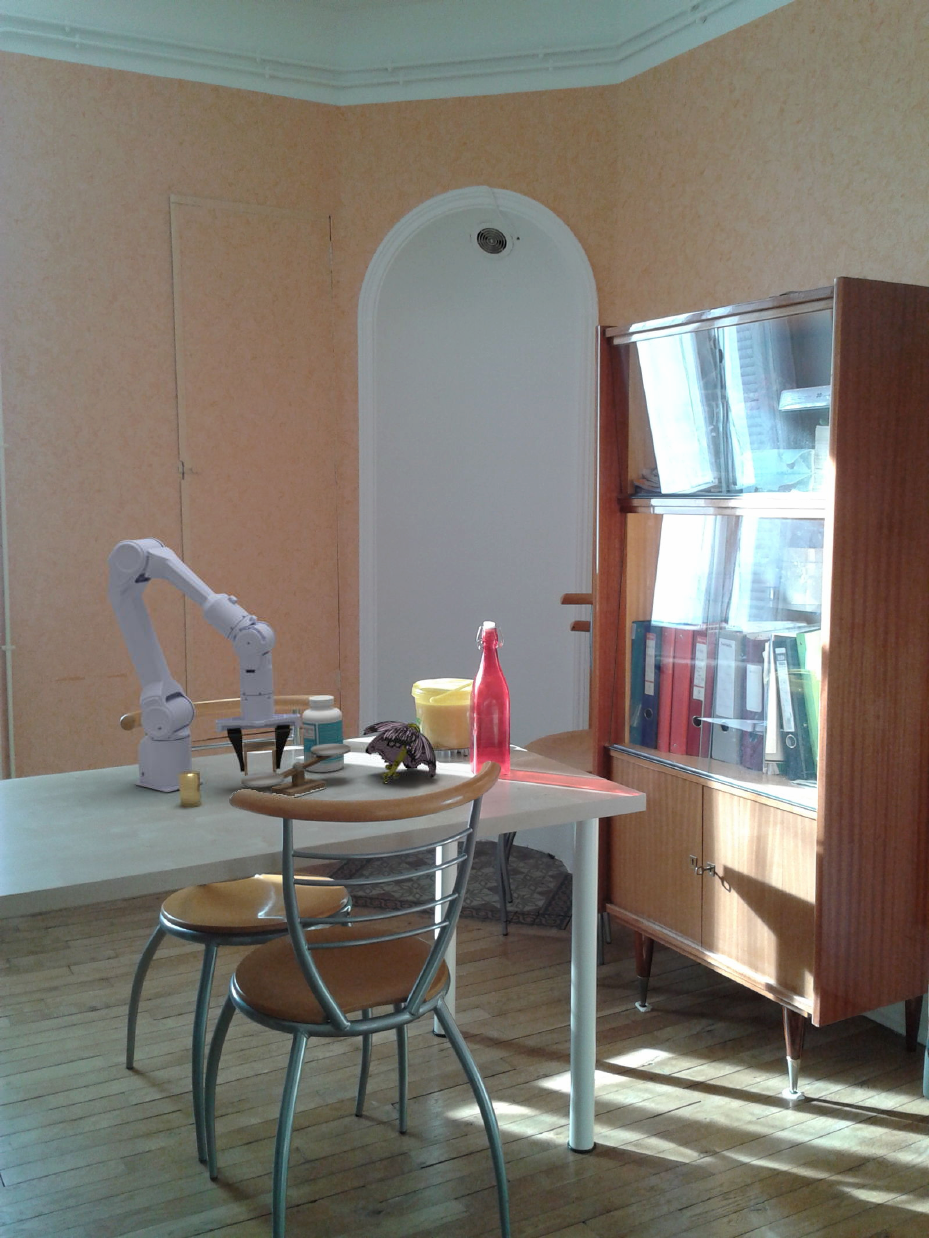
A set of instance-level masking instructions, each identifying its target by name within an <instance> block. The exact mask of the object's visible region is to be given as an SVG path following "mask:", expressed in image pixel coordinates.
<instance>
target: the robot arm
mask: <svg viewBox="0 0 929 1238" xmlns="http://www.w3.org/2000/svg"><path fill="white" fill-rule="evenodd" d="M106 562H107V565H108V567H109V571H108V572H109V573H108V583H107V597H108V600H109V602H110V606H111V608H112V611H113V613H114V616H115V619H116V621H117V624H118V627H119V630H120V632H121V635H122V638H123V640H124V643H125V646H126V648H127V652H128V654H129V657H130V659H131V662H132V664H133V667H134V670H135V673H136V676H137V678H138V680H139V684H140V686H141V692H140V697H139V701H138V703H139V707H140V710H141V716H140V717H141V718H140V722H141V723H140V724H141V726H142V729H143V731H144V732H145V734H146V735H145V736H143V737H142V739H141V740H140V742H139V745H138V746H137V747H138V748H137V754H138V755H137V758H138V777H139V779H138V781H135V785H136V786H140V787H145V788H148V789H152V790H157V791H160V792H165V793H170V792H173V791H177V790H180V789H179V773H181V772H184V771H193V761H192V758H193V757H192V745H191V744H192V738H191V730H190V725H191V724H192V723H193V722H194V720H195V716H196V708H195V704H194V703H193V701H192V700H191V699H190V698H189V697H188V696H187V695H186V694H185V691H184V689H183V687H182V685H181V684H179V682H177V681H176V680H175V679H174V678H173V676H172V674H171V671H170V669H169V666H168V663H167V661H166V658H165V655H164V653H163V650H162V646H161V645H160V644H161V643H160V642H159V639H158V636H157V634H156V631H155V628H154V626H153V623H152V620H151V618H150V615H149V612H148V609H147V607H146V604H145V602H144V598H143V593H144V592H145V590H146V588H147V586H148V584H149V583H150V581H151V579H157V580H165V581H167V582H169V583H170V584H171V585H172V586H173V587H175V588H176V589H177V590H179V591H180V592H181V593H182V594H183V595H185V596H186V597H187V598H189V599H190V600H191V601H193V603H195V604H197V605H198V607H200V608H201V611H202V618H203V619H204V620H205V621H206V622H207V623H208V624H209V625H210V626H212V627H213V628H214V629H215V630H216V631H217V632H219V633H220V634H221V635H222V636H223V637H224V638H225V639H226V640H228V641H229V642H231V643H232V648H233V649H232V650H233V651H234V653H235V655H236V656H237V657H238V665H239V667H238V668H239V669H238V670H239V672H238V673H239V691H240V692H239V696H240V697H239V698H240V716H235V717H226V718H215V719H214V721H215V732H216V733H223V732H226V734H227V737H228V740H229V743H231V745H232V747H233V749H234V752H235V754H236V757H237V759H238V763H239V764H238V765H239V770H240V772H241V773H242V772H244V773H245V769H244V745H243V742H244V741H243V731H242V730H255V729H256V730H258V729H270V728H272V729H274V741H275V749H276V770H280V769H281V764H282V757H283V753H284V750H285V747H286V744H287V741H288V740H289V737H290V734H291V727H294V728H300V727H302V726H301V725H302V724H301V715H300V713H296V714H295V713H280V714H279V713H275V695H274V670H273V654H272V653H273V652H272V650H274V647H275V645H276V643H277V642H276V641H277V637H276V634H275V631H274V629H273V628H272V627H271V625H270V624H269V623H268V622H266V621H258V617H257V616H255V614H252V615H251V614H250V613H248V612H247V611H246V610H245V609H244V608H243V607H241V606H240V605H239V604H238V603H237V602H238V598H237V597H235V596H234V595H228V594H226V593H216V592H214V591H213V590H212V589H211V588H210V587H209V586H208V585H207V584H206V583H205V582H204V581H203V580H202V579H200V577H198V575H196V573H195V572H193V570H191V569H190V568H189V567H188V566H187V565H186V564H185V563H184V562H183V561H182V560H181V559H180V558H179V557H178V556H177V554H176V553H175V552H174V550H172V549H171V548H169V547H168V546H166V545H164V543H163V542H162V541H160V540H159V539H157V538H156V537H155V538H154V537H144V538H142V539H134V540H133V539H125V540H122V541H119V542H118V543H117V544H116V545H115V546H114V547H113V549H112V550H111V553H110V554H109V556H108V557H107V559H106ZM203 783H204V780H203V779H200V784H203Z"/></svg>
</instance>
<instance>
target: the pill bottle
mask: <svg viewBox="0 0 929 1238" xmlns="http://www.w3.org/2000/svg"><path fill="white" fill-rule="evenodd" d="M308 705H309V708H307V709H306V710H305V711H304V712H303V713H302V718H301V721H302V724H301V725H302V726H301V727H302V742H303V743H302V744H303V745H302V746H303V763H304V762H306V761H308V760H310V759H312V758H314V757H317V756H318V755H314V754H312V753H311V748H312V747H314V746H317V745H322V744H344V730H343V729H344V727H343V713H342V711H341V710H340V709H339V708H337V707H335V706H334V705H335V696H333V695H314V696H310V697H309V698H308ZM344 766H345V754H343V755H336V756H332V757H330V758H328V759H325V760H323V761H321V762H319V763H317V764H315V765H313V766H311V767H309V768H306V769H305V770H307V771H310V772H313V773H329V771H330V772H334V771H338V770H340V769H342V768H343V767H344Z"/></svg>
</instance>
